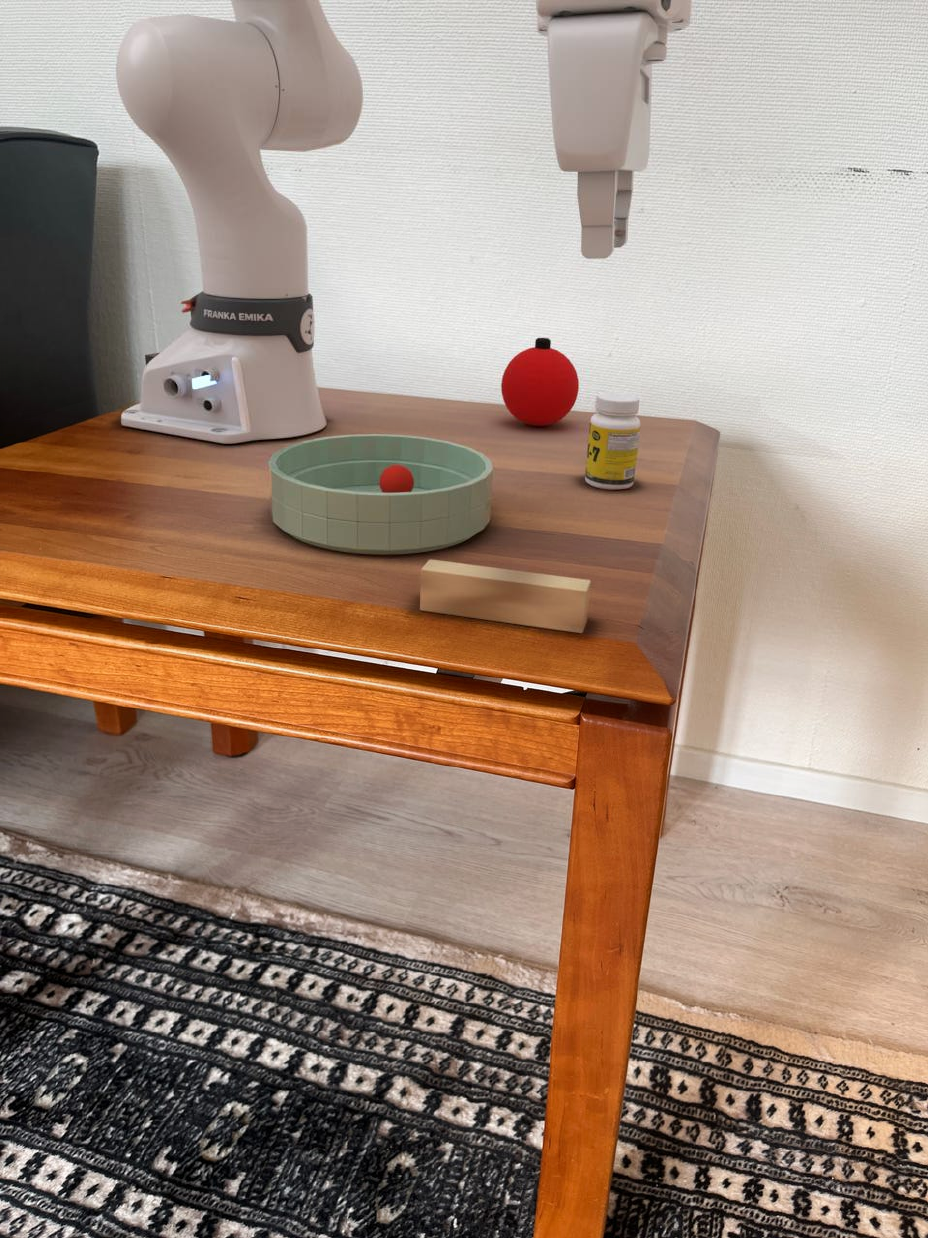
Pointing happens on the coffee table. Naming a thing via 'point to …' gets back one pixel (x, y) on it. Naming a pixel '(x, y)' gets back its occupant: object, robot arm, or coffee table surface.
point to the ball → (396, 479)
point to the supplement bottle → (613, 441)
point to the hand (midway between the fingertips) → (605, 252)
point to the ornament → (540, 385)
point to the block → (505, 595)
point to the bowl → (379, 493)
